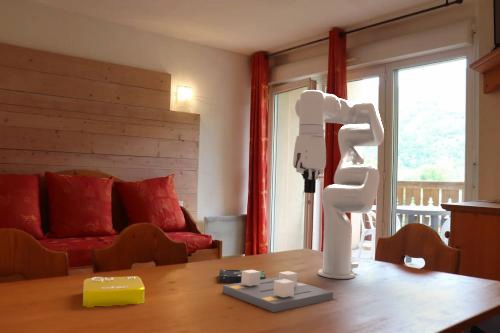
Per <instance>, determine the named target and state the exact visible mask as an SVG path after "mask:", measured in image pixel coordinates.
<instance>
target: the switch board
mask: <svg viewBox="0 0 500 333" xmlns="http://www.w3.org/2000/svg"><path fill="white" fill-rule="evenodd" d="M278 278H279V276H275V277H268V278H266V279H261V280H260V284H259V285H253V286H247V285H244V284H241V283H228V284H223V285H222V293H223V294H225V295H228V296H231V297H233V298H235V299H239V300H241V301H243V302H246V303H249V304H252V305H254V306H256V307H257V306H258V307H260V308H262V309H264V310H267V311H270V312H272V313H277V312H281V311H285V310H291V309H295V308H300V307H305V306H308V305H313V304H318V303H322V302H326V301H331V300H333V299H334V291H331V290H327V289H323V288H320V287H317V286H314V285H311V284H306V283H303V282H299V281H297V286H294V295H293V296H288V297H280V296H277V295H274V281H275V280H278Z"/></svg>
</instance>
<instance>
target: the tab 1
mask: <svg viewBox="0 0 500 333" xmlns="http://www.w3.org/2000/svg"><path fill="white" fill-rule="evenodd" d="M244 270H245V271H242V279H241V284H244V285H247V286H253V285H259V284H260V272H259V271H260V270H258V271H256V269H244Z"/></svg>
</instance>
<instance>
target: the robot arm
mask: <svg viewBox="0 0 500 333" xmlns="http://www.w3.org/2000/svg"><path fill="white" fill-rule="evenodd" d="M294 109H295V110H294V111H295V113H296V115H297V117H298V120H299V122H298V135H297V136H296V139H295V142H294V148H293V158H292V159H293V161H292V166H293V168H294V169H295V170H296V171H295V172H296V173H298V174H300V175H301V176H302V179H303V180H304V182H303V183H304V184H303V185H304V187H303V193H305V194H315V193H316V185H317V184H316V183H317V182H316V181H317V180H318V177H319V175H322V174H325V171H324V170H325V168H326V165H327V148H326V147H327V146H326V139H325V132H326V131H325V123H329V124H330V123H331V124H341V125H343V126H342V127H340V129H339V130H338V132H337V133H338V134H337V140H338V141H337V142H338V147H339V152H340V160H339V163H338V165H337V168H336V170H335V173H334V176H333V182H334V184H329V185H327V186H326V187H324V188H323V191H322V193H321V202H322V208H323V252H322V254H323V256H322V268H320V269H319V270H318V275H319V276H322V277H324V278H329V279H336V280H346V279H347V280H348V279H349V280H350V279H354V278H355V277H356V273H355V271H353V269H357V268H358V267H359V263H358V262H357V261H355V262H352V237H353V236H352V228H353V226H352V222H351V220H350V218H349V217H348V215H347V214H346V213H353V214H368V213H369V212H370V211H371V210H372V209H373V207H374V206H373V205H374V202H375V199H376V196H377V192H378V188H379V184H380V177H381V176H380V172H379V169H378V167H377V166H376V165H374V164H370V163H364V162H365V161H364V160H365V159H364V157H363V155H362V154H361V152H360V151H359V150H358V149H357V148H355V147H377V146H380V145H382V144H383V142H384V139H385V131H384V127H383V124H382V121H381V120H382V119H381V116H380V113H379V110H378V108H377V105H376V104H375V102H374V101H372V100H354V101H350V100H346V99H343V98H339V97H337V95H335V94H332V93H331V94H330V93H324V92H323V91H322V90H317V89H316V90H315V89H311V90H310V89H309V90H304V91H302V92H301V93H300V95H299V98H298V99H297V100H296V101H295V106H294Z"/></svg>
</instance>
